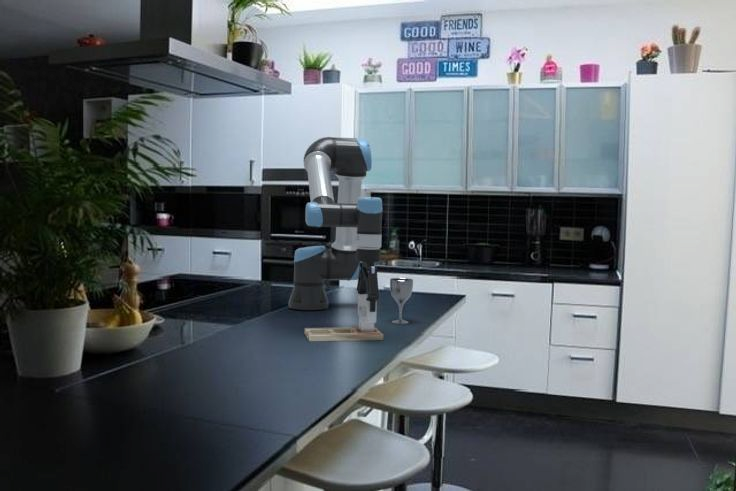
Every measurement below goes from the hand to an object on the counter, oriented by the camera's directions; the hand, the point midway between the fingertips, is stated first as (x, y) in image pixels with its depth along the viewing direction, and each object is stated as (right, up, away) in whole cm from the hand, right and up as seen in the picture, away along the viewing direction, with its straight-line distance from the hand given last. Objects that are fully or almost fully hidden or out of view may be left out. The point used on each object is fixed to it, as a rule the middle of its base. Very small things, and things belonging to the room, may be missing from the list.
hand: (366, 318), depth 189 cm
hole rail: (-7, -5, -1) cm, 9 cm away
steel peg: (0, -5, 0) cm, 5 cm away
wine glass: (+11, -5, +25) cm, 28 cm away
